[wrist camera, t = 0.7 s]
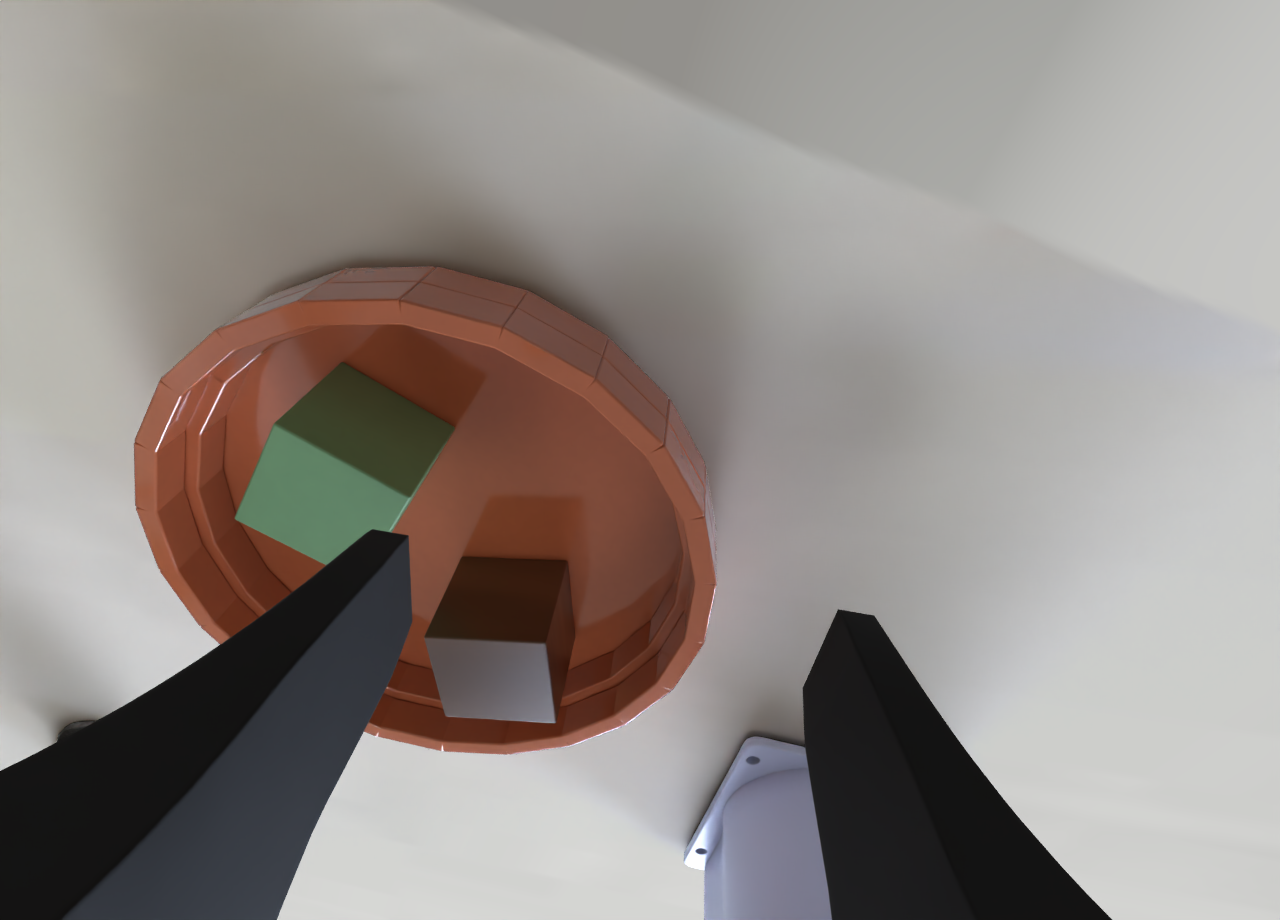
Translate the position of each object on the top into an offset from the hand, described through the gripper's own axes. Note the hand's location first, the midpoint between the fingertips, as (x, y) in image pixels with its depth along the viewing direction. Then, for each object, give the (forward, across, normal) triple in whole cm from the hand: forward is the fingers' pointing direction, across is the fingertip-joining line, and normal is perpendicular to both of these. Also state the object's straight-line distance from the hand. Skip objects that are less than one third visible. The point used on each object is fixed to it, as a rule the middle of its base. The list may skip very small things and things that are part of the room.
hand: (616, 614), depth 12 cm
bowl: (+9, +5, +6) cm, 12 cm away
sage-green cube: (+8, +8, +3) cm, 12 cm away
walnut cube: (+8, +3, +8) cm, 12 cm away
